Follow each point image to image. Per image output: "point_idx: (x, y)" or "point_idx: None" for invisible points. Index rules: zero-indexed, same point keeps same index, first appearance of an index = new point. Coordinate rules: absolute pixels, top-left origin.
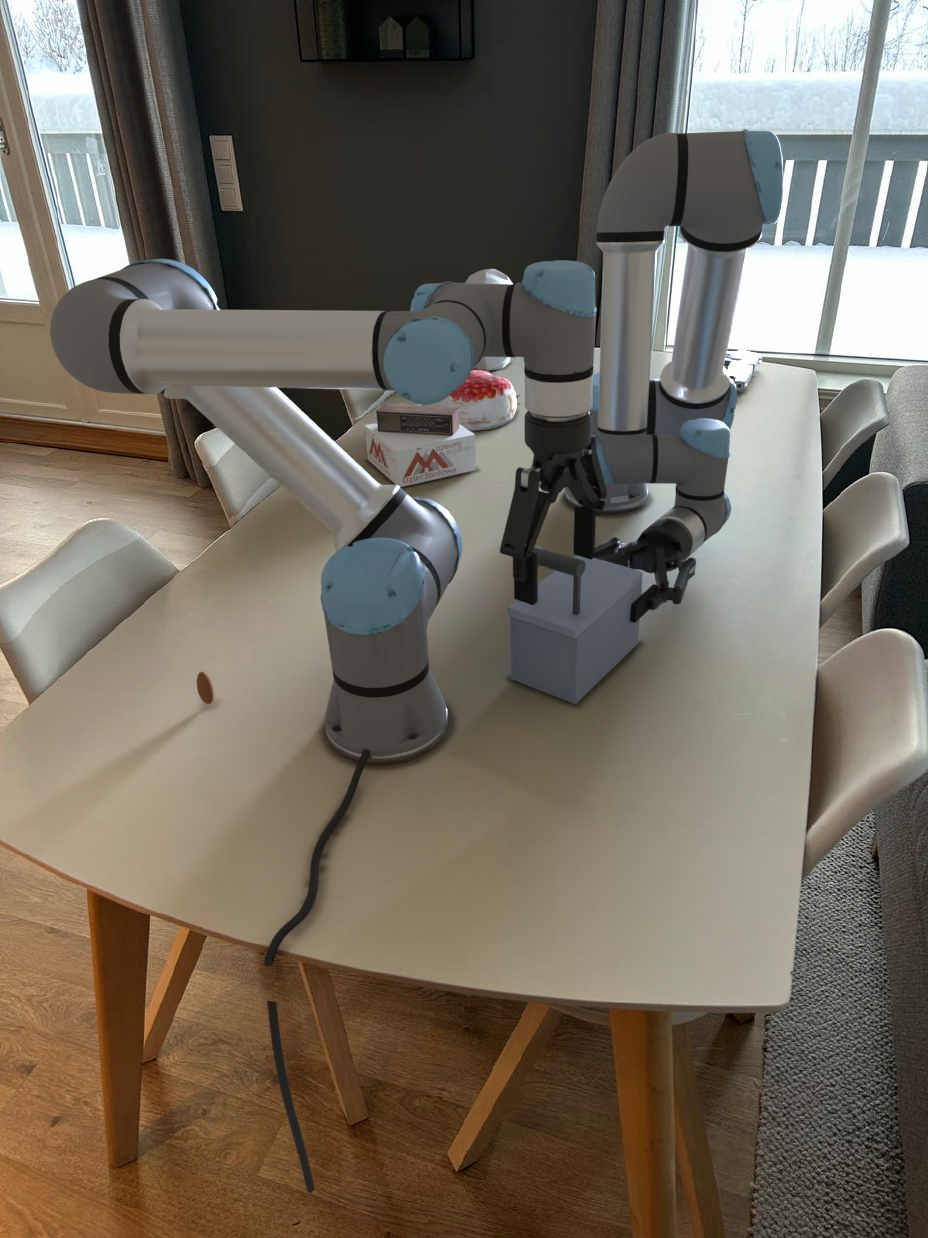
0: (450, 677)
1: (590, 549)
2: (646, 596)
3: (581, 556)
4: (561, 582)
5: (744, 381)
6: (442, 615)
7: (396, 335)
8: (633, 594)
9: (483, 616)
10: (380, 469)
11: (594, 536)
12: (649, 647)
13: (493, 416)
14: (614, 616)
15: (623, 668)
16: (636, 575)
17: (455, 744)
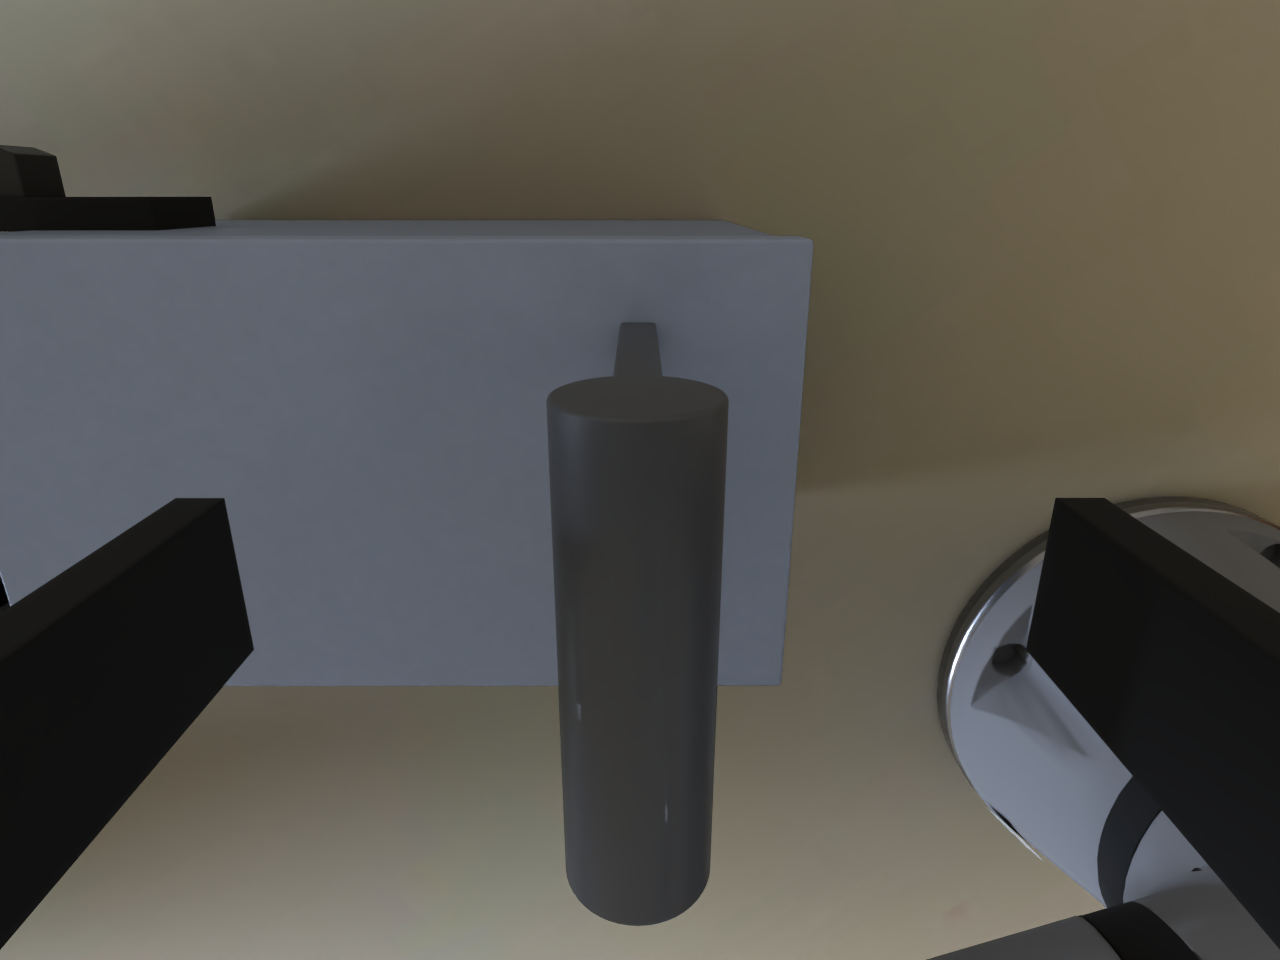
0: (809, 665)
1: (176, 547)
2: (20, 198)
3: (239, 583)
4: (380, 595)
5: None
6: (525, 870)
7: None
8: (100, 233)
9: (445, 774)
10: None
11: (46, 592)
12: (194, 163)
13: None
14: (348, 231)
15: (398, 181)
16: None
17: (1125, 450)
